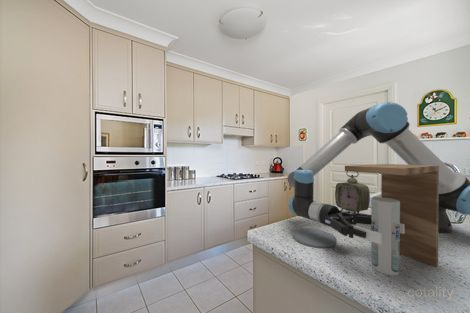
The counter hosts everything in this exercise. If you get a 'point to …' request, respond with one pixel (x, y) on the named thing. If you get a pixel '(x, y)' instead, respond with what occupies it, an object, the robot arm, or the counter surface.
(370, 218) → the robot arm
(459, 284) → the counter surface
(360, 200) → the tabletop clock
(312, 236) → the rubber mat
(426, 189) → the walnut shelf
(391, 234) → the spray can
